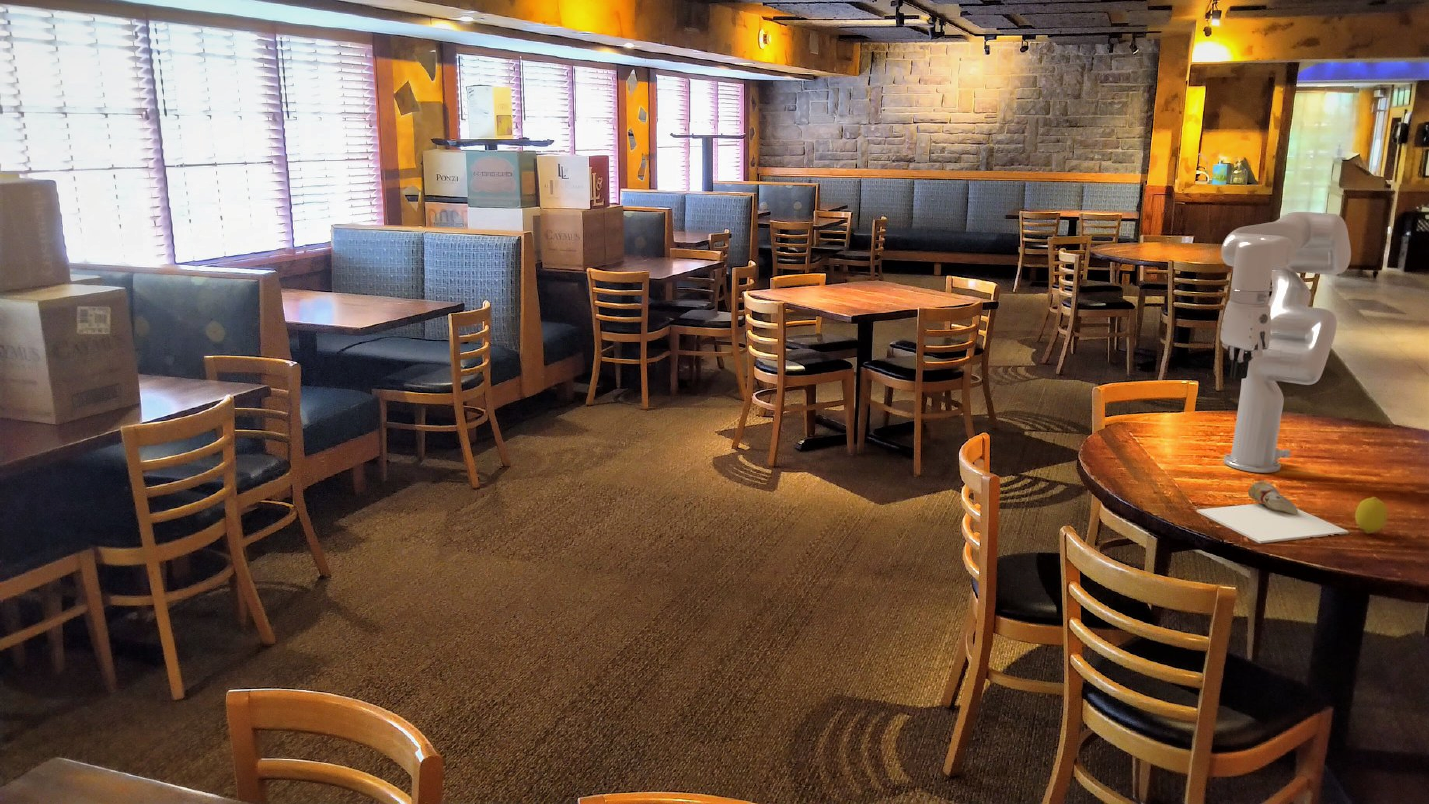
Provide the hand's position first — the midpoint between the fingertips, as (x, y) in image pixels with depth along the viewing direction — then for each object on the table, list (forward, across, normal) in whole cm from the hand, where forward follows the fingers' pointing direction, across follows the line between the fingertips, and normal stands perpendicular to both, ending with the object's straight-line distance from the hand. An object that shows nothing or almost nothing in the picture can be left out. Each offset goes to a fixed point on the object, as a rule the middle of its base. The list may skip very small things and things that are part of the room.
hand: (1238, 377), depth 230 cm
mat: (+26, -20, +6) cm, 33 cm away
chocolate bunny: (+23, -10, 0) cm, 25 cm away
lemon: (+26, -30, -9) cm, 41 cm away
